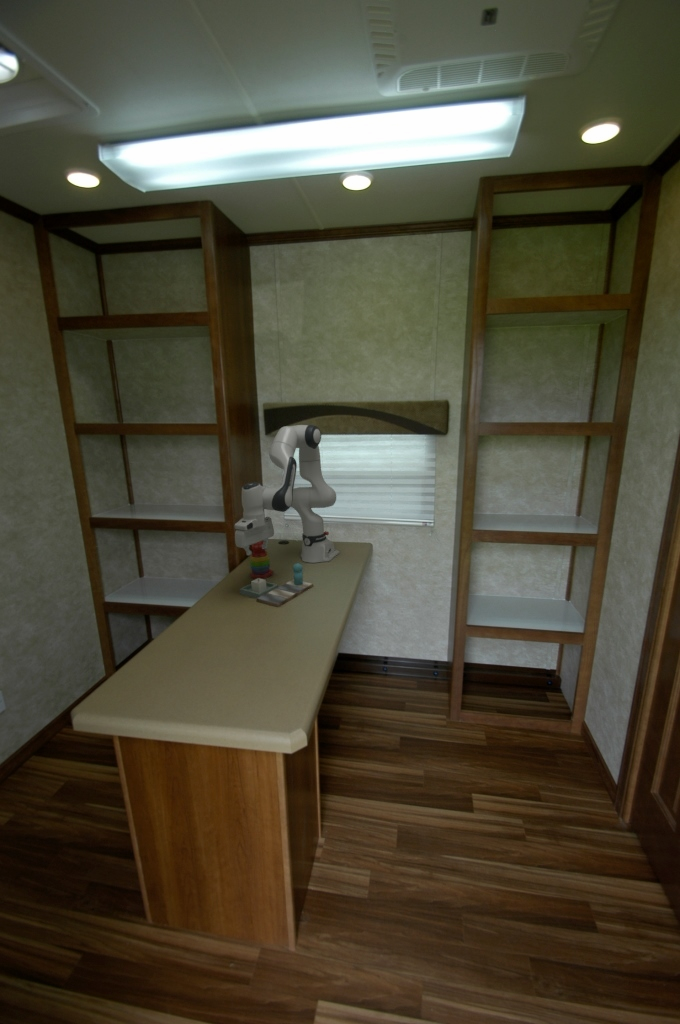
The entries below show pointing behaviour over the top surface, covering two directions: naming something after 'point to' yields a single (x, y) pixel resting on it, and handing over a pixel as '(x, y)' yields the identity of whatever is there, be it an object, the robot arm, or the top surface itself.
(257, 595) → the tray
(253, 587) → the die
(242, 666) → the top surface
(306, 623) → the top surface
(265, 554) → the stacking bear
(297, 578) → the pawn
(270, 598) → the board
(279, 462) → the robot arm
